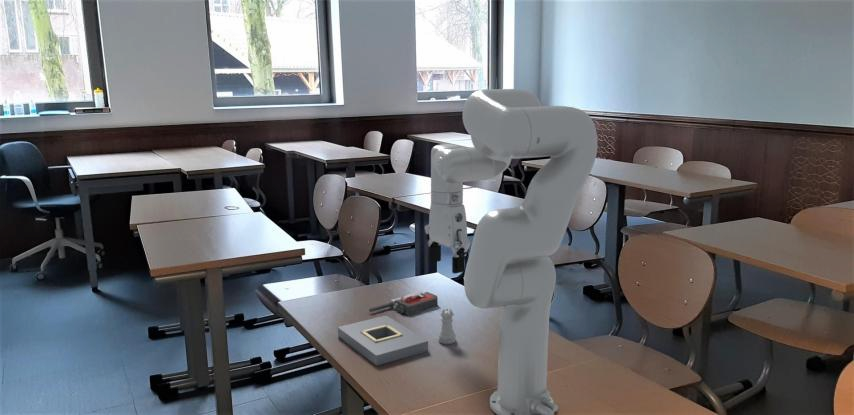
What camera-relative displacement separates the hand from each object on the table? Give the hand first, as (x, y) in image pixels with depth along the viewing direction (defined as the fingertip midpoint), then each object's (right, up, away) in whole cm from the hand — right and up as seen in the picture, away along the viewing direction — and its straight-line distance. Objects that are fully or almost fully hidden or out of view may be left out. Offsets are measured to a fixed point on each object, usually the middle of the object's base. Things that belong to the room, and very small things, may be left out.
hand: (446, 266), depth 153 cm
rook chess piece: (0, -19, +4) cm, 19 cm away
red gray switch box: (-11, -15, +26) cm, 32 cm away
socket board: (-16, -19, +3) cm, 25 cm away
